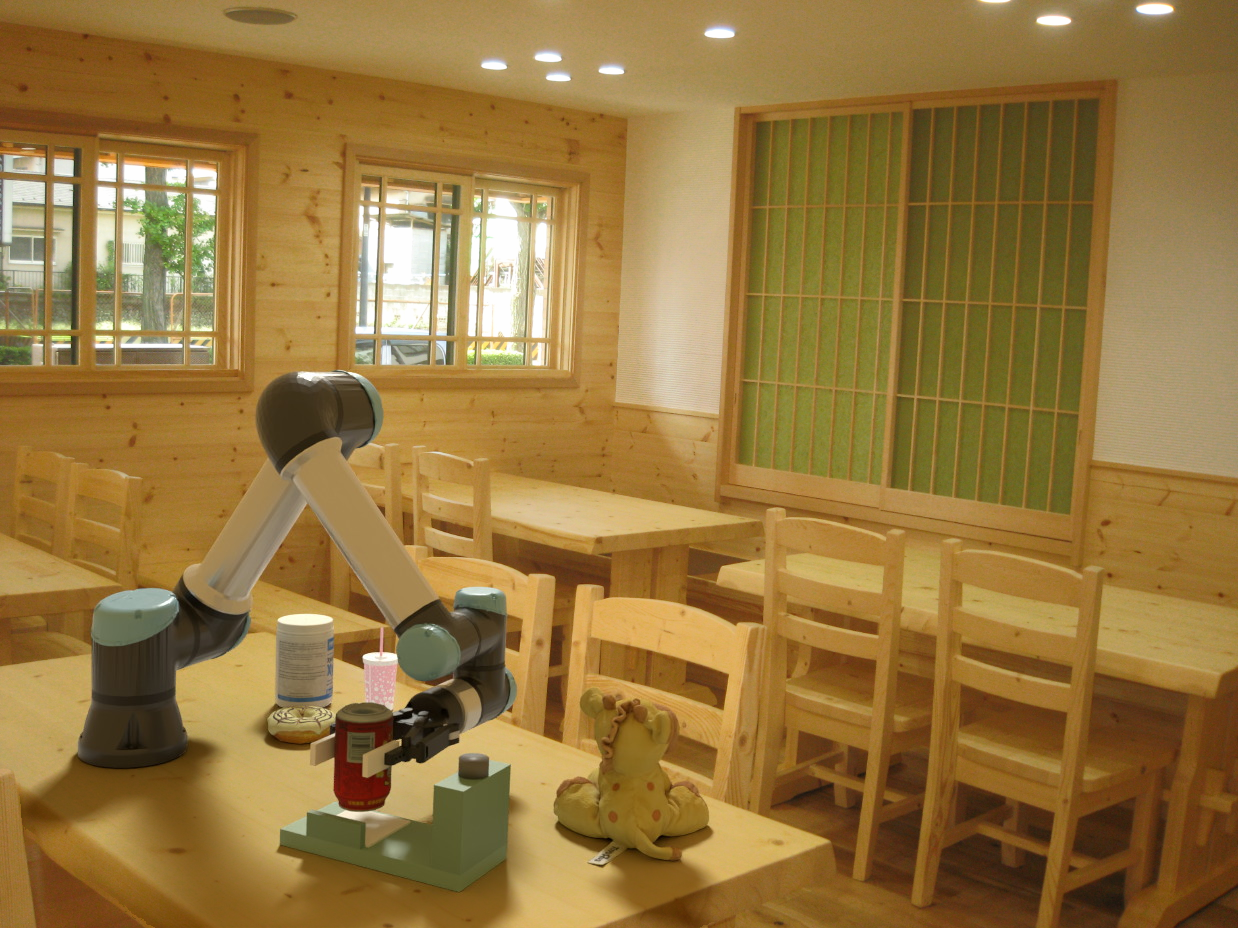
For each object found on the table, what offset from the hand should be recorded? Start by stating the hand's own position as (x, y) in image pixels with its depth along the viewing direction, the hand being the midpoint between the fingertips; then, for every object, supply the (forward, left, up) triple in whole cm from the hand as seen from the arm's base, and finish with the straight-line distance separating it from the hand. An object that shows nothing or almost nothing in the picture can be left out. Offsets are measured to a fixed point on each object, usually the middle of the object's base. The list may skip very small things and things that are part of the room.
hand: (338, 760), depth 152 cm
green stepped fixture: (+5, +5, -12) cm, 14 cm away
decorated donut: (-33, +35, -13) cm, 50 cm away
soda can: (0, +5, -7) cm, 9 cm away
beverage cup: (-31, +53, -12) cm, 63 cm away
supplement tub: (-43, +48, -12) cm, 66 cm away
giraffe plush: (+27, +27, -12) cm, 40 cm away
